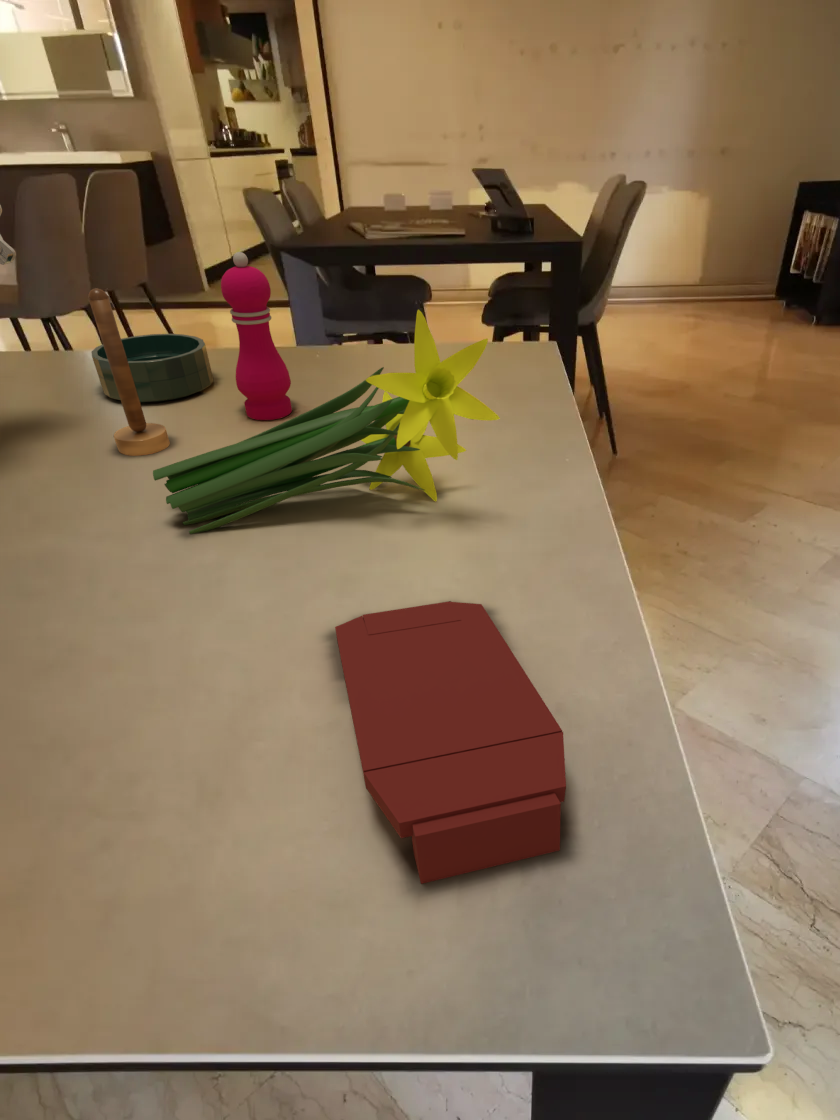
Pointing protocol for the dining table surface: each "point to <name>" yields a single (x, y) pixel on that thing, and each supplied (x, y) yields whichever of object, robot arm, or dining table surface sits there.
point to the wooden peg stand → (125, 386)
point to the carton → (453, 737)
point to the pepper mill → (256, 343)
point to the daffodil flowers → (337, 441)
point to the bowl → (159, 366)
